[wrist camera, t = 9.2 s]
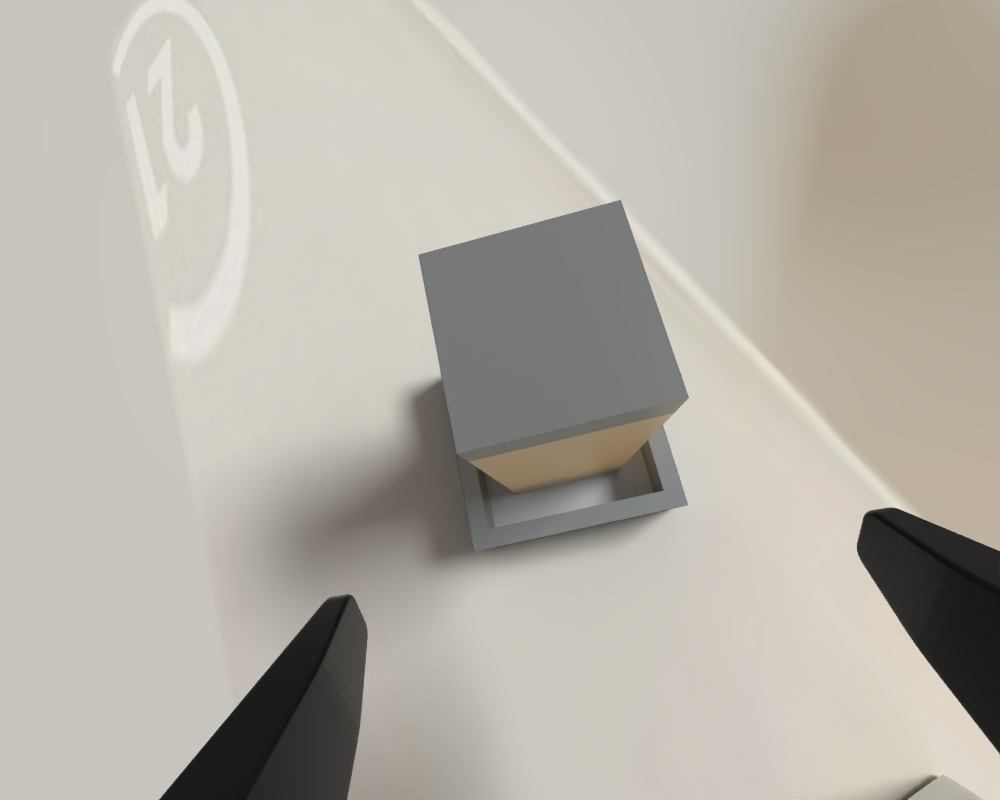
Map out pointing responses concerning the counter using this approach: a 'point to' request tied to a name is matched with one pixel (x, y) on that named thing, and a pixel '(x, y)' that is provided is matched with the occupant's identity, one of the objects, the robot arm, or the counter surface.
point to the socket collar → (570, 498)
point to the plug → (551, 348)
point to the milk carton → (945, 791)
